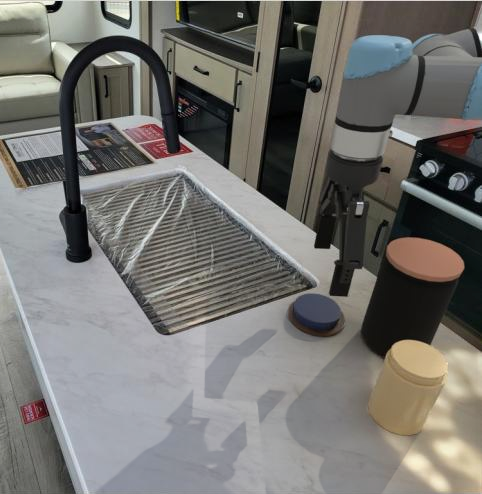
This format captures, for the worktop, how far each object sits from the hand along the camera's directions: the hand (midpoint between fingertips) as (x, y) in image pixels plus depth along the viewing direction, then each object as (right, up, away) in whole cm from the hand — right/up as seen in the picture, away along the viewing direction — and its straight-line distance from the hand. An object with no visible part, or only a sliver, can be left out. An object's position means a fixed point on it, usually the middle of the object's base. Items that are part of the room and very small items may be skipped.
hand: (329, 269), depth 81 cm
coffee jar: (+11, -13, +1) cm, 17 cm away
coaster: (0, -9, +6) cm, 11 cm away
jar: (+6, -20, -11) cm, 24 cm away
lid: (0, -7, +5) cm, 9 cm away
